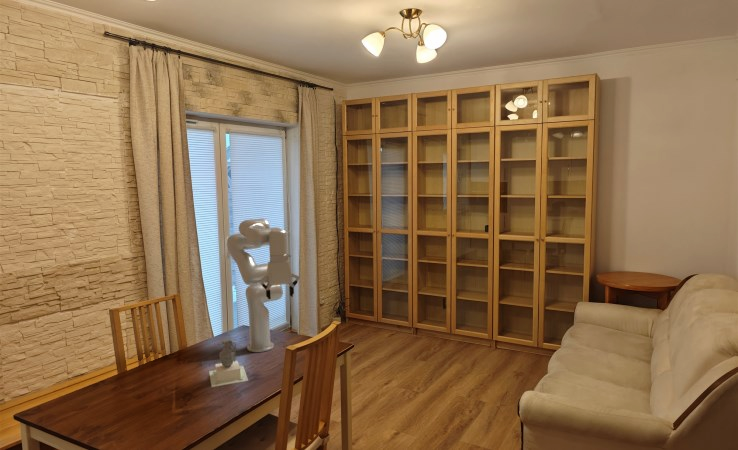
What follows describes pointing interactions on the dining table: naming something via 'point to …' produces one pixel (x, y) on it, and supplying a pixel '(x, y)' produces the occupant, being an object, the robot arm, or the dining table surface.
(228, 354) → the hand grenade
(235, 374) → the cream brick
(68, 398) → the dining table surface
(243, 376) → the base plate
